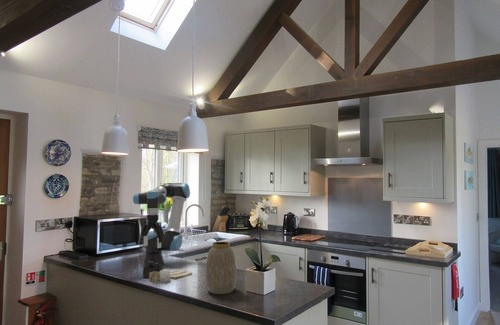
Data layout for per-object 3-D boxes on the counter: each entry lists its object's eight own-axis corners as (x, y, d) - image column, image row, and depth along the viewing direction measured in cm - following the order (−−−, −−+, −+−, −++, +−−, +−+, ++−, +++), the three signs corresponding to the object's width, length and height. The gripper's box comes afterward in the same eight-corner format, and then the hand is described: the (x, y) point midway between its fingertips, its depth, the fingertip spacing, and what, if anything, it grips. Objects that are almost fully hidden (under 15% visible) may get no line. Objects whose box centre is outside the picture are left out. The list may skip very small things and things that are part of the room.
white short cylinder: (157, 281, 225) (157, 270, 225) (165, 279, 230) (165, 268, 231) (164, 283, 221) (164, 271, 222) (172, 281, 227) (172, 269, 227)
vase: (211, 297, 195) (211, 246, 196) (202, 288, 211) (202, 241, 212) (240, 293, 202) (240, 244, 203) (230, 285, 218) (230, 239, 219)
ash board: (162, 276, 237) (162, 274, 237) (179, 271, 249) (179, 270, 249) (175, 279, 230) (175, 277, 230) (191, 274, 242) (191, 272, 242)
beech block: (149, 281, 227) (149, 273, 227) (154, 279, 232) (154, 271, 232) (156, 282, 225) (156, 273, 225) (160, 279, 230) (160, 271, 230)
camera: (157, 273, 247) (157, 258, 247) (165, 275, 240) (165, 260, 240) (139, 276, 238) (139, 261, 238) (146, 279, 231) (146, 263, 231)
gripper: (136, 213, 245) (135, 245, 244) (161, 215, 231) (160, 249, 229) (145, 213, 251) (144, 244, 250) (169, 214, 237) (169, 247, 236)
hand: (152, 246), depth 240 cm, fingers open, 13 cm apart
